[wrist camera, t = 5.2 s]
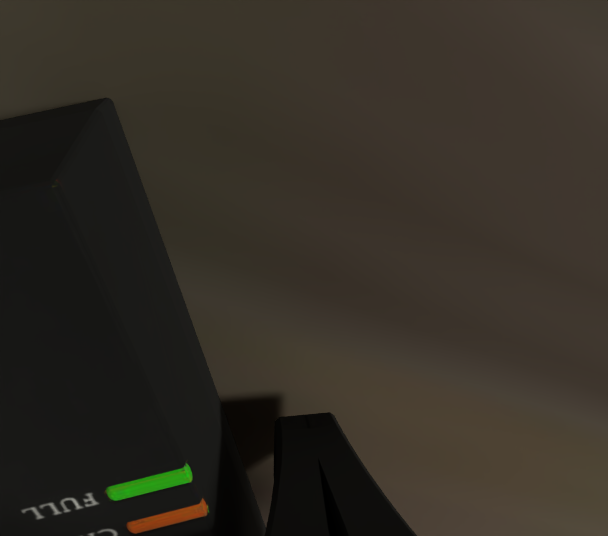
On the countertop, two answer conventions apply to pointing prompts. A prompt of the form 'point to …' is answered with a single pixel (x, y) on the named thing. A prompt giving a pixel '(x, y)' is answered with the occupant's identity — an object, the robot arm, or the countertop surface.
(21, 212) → the battery charger
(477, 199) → the countertop surface
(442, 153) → the countertop surface
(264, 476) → the countertop surface
